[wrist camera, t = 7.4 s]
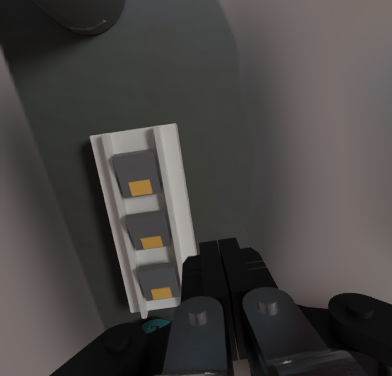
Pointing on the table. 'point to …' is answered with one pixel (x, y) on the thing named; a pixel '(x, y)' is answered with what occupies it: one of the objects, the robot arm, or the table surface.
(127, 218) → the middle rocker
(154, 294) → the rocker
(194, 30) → the table surface
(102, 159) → the power strip
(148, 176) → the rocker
